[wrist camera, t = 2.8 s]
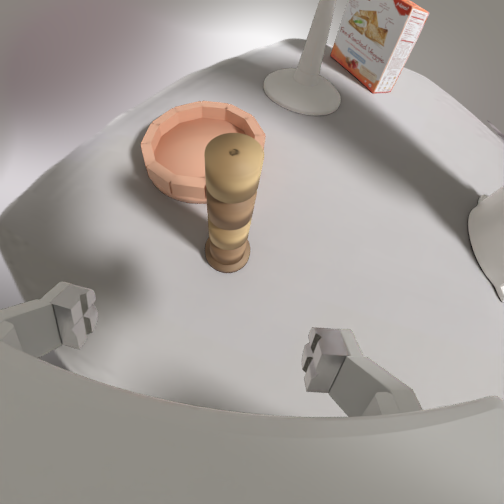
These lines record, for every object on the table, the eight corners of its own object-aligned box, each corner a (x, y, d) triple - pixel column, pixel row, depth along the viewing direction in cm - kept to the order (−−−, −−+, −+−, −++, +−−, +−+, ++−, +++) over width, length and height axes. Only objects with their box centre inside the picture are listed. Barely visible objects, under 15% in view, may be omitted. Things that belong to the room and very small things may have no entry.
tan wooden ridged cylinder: (252, 235, 30) (275, 133, 17) (246, 276, 28) (269, 189, 15) (209, 229, 30) (205, 123, 17) (201, 269, 28) (186, 177, 15)
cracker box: (328, 56, 48) (353, -25, 29) (348, 56, 50) (375, -19, 31) (371, 94, 44) (412, 4, 25) (391, 93, 46) (431, 12, 27)
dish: (266, 126, 37) (269, 109, 34) (253, 212, 31) (256, 196, 28) (166, 115, 36) (164, 98, 33) (131, 195, 30) (124, 178, 28)
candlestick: (247, 87, 40) (272, -88, 13) (293, 65, 45) (327, -74, 17) (313, 126, 38) (378, -67, 10) (352, 99, 42) (410, -47, 15)
